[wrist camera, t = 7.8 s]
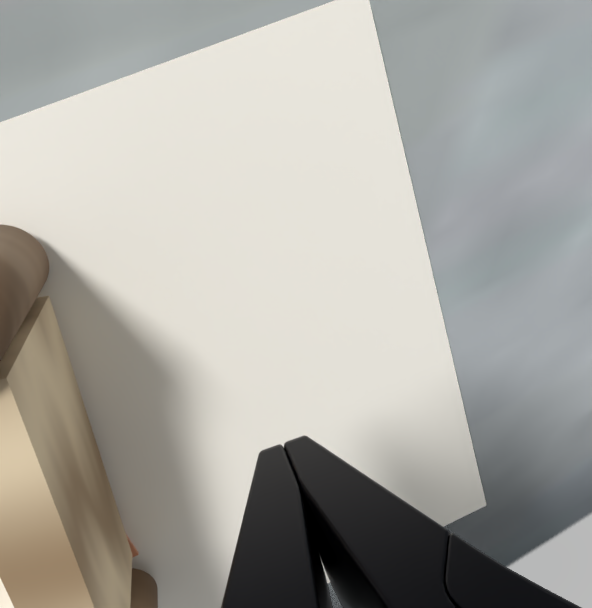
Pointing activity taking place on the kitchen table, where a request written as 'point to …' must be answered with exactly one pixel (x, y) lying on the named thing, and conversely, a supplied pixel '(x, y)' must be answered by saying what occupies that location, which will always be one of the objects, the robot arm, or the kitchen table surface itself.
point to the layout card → (242, 284)
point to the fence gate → (52, 460)
